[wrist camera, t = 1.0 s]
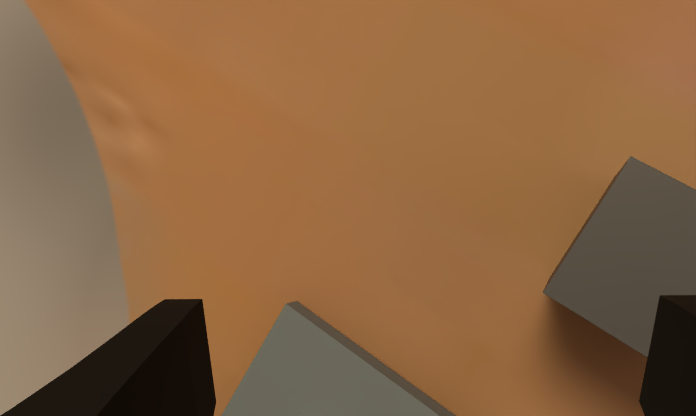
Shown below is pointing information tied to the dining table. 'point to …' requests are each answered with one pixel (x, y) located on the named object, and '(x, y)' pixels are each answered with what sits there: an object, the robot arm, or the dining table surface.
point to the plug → (630, 254)
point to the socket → (322, 376)
